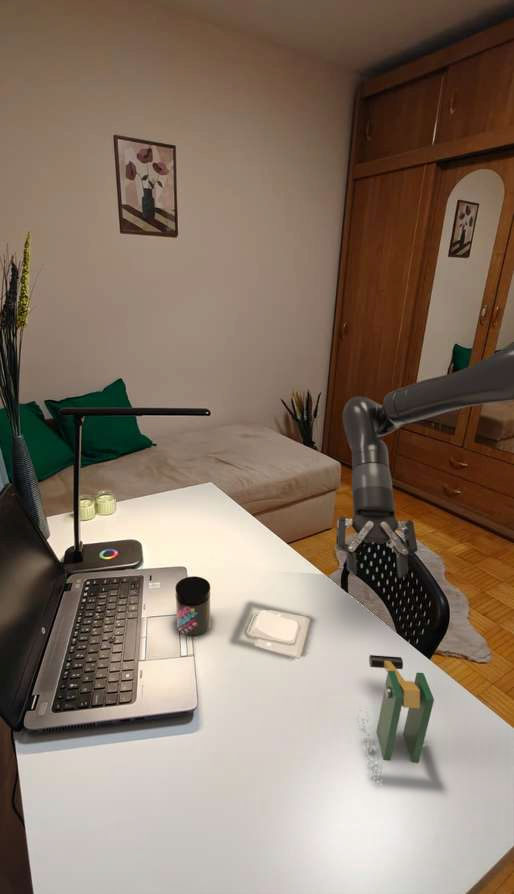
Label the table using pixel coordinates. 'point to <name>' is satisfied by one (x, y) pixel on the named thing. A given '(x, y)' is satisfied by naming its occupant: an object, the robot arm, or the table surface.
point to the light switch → (279, 632)
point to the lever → (407, 687)
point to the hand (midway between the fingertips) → (377, 575)
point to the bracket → (414, 721)
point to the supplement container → (193, 606)
